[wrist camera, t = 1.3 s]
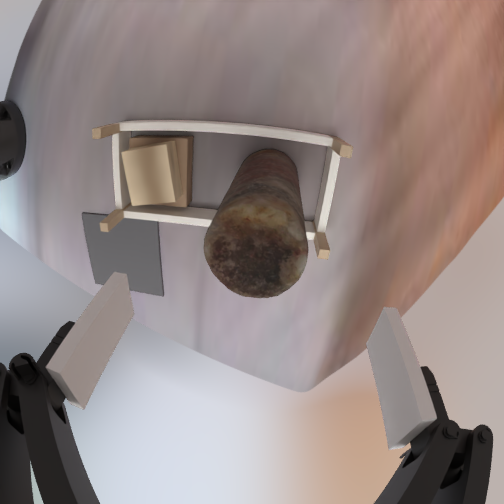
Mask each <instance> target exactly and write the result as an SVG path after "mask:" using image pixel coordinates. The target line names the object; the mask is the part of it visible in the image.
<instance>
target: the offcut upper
mask: <svg viewBox="0 0 504 504" xmlns="http://www.w3.org/2000/svg"><path fill="white" fill-rule="evenodd" d="M121 153H122V158H123V164H124V169H125V174H126V179H127V184H128V189H129V194H130V198H131V203H132V206H138V205H148V204H159V203H170V202H176V201H177V200H178V199H179V198H180V197H181V196H182V195H183V191H182V185H181V178H180V172H179V165H178V158H177V151H176V144H175V141H169V142H162V143H156V144H150V145H144V146H139V147H134V148H131V149H128V150H126V151H123V152H121Z"/></svg>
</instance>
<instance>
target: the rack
mask: <svg viewBox="0 0 504 504" xmlns="http://www.w3.org/2000/svg"><path fill="white" fill-rule="evenodd" d="M141 130H166V131H199V132H216V133H230V134H242V135H252V136H261V137H270V138H278V139H285V140H292V141H299V142H306V143H312V144H318V145H324V146H328V147H327V153H326V159H325V165H324V171H323V176H322V182H321V187H320V193H319V198H318V203H317V208H316V213H315V218H314V221H312V222H310V221H304V222H305V228H306V236H307V239H310V240H314V244H315V248H316V253H317V257H318V258H319V259H327V260H328V257H329V253H330V248H329V245H328V242H327V239H326V235H325V229H326V225H327V221H328V216H329V211H330V207H331V202H332V197H333V192H334V188H335V183H336V177H337V172H338V167H339V162H340V156H342V157H347V158H351V155H352V150H353V147H352V146H351V145H349V144H348V143H346V142H345V141H343V140H341V139H340V138H338V137H335V136H330V135H325V134H319V133H313V132H307V131H301V130H294V129H287V128H280V127H272V126H263V125H254V124H243V123H231V122H216V121H195V120H133V121H122V122H118V123H113V124H109V125H105V126H101V127H97V128H94V129H92V134H93V139H100V138H104V137H107V136H110V135H112V156H113V177H114V191H115V203H116V210H114V211H113V212H112V213H111V214H109V215H108V216H107V217H106V218H105V219H103V220H102V221H101V222H100V229H101V231H103V232H109V231H110V230H111V229H112V228H113V227H115V226H116V225H117V224H118V223H119V222H120V221H121V220H122V219H123V218H132V219H142V220H151V221H161V222H170V223H179V224H188V225H197V226H206V227H209V226H210V224H211V222H212V220H213V218H214V216H215V214H216V212H217V211H218V210H214V209H205V208H195V207H176V206H165V205H153V204H148V205H138V206H132V203H131V198H130V194H129V189H128V184H127V179H126V174H125V169H124V164H123V158H122V153H121V152H123V151H126V150H128V149H129V138H131V131H141Z"/></svg>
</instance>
